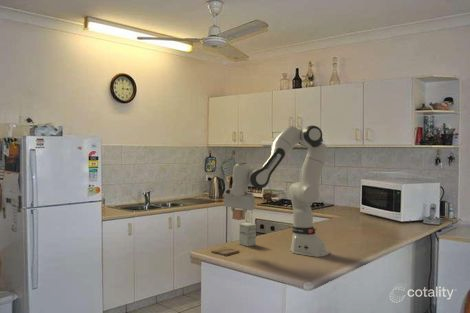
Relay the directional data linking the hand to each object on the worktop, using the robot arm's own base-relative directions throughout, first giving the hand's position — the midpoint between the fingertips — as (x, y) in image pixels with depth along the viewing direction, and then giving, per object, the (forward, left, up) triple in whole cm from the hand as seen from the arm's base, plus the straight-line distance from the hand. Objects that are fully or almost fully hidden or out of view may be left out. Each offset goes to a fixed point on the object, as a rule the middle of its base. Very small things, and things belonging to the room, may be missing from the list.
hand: (238, 216), depth 229 cm
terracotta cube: (0, 0, -2) cm, 2 cm away
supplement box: (+8, -18, -21) cm, 28 cm away
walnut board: (+5, +5, -20) cm, 22 cm away
